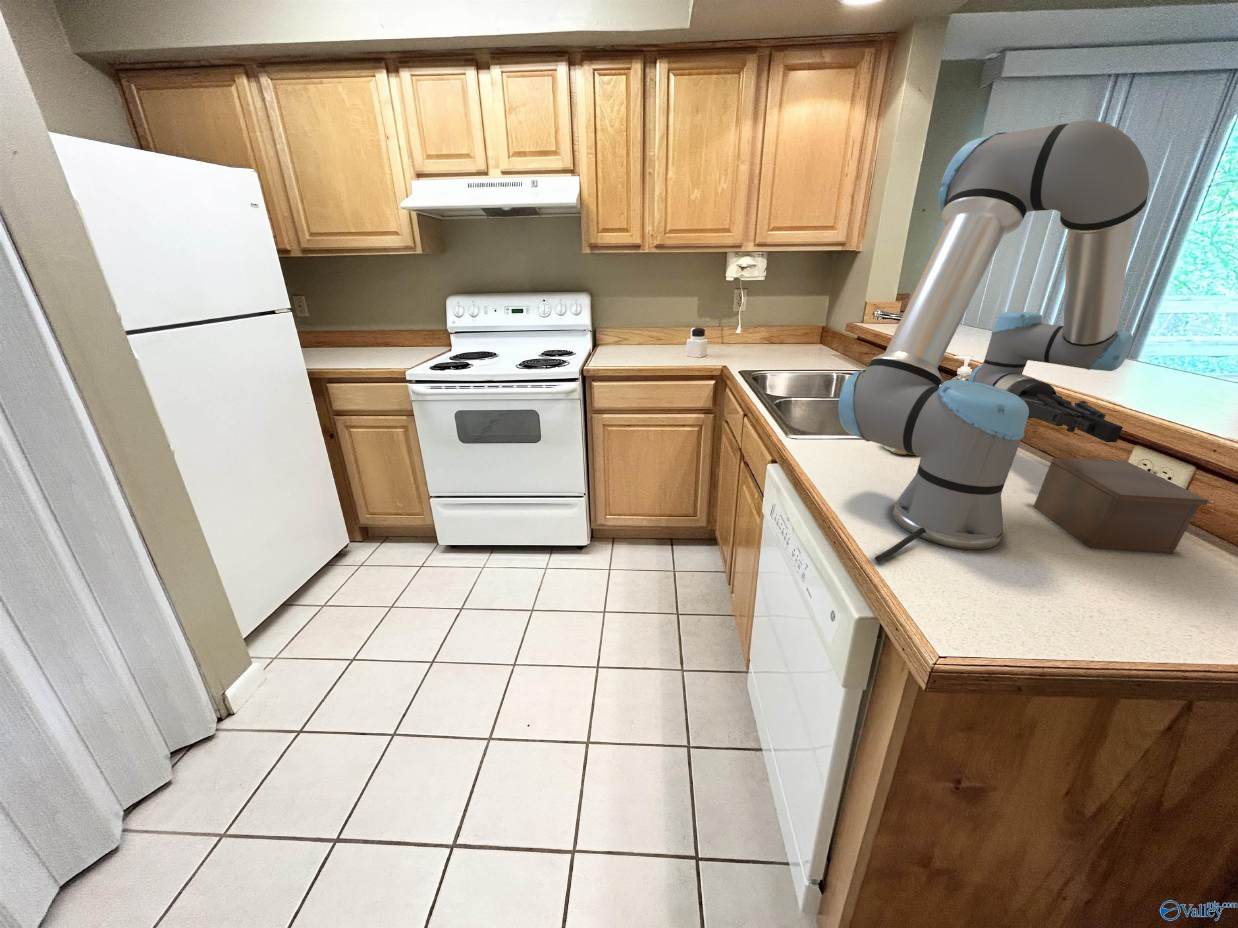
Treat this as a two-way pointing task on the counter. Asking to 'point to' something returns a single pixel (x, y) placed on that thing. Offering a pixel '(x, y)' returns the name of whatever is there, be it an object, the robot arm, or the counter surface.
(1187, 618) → the counter surface
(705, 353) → the medicine bottle
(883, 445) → the pastry
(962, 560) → the counter surface
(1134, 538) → the chest
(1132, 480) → the lid
